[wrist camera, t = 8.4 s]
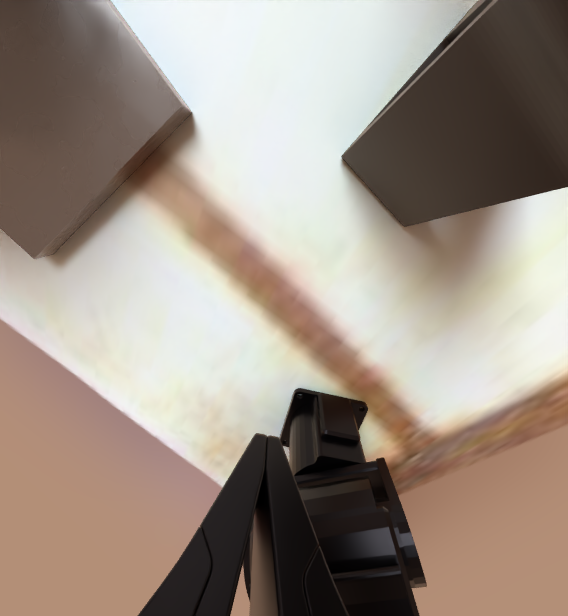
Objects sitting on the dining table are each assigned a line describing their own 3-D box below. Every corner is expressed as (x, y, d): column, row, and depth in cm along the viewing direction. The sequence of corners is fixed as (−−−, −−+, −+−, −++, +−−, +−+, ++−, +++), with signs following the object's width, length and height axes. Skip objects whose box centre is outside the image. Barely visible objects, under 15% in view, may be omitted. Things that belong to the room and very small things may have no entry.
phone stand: (401, 226, 18) (574, 278, 7) (339, 156, 17) (432, 81, 5) (532, 104, 15) (1163, -133, 4) (471, 7, 14) (1193, -749, 3)
